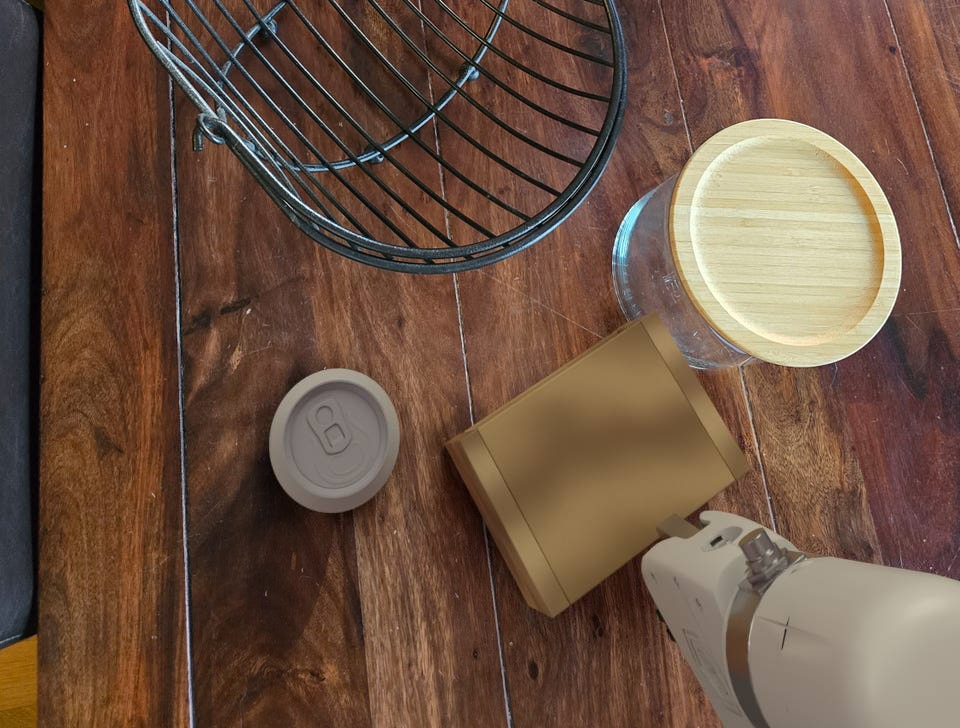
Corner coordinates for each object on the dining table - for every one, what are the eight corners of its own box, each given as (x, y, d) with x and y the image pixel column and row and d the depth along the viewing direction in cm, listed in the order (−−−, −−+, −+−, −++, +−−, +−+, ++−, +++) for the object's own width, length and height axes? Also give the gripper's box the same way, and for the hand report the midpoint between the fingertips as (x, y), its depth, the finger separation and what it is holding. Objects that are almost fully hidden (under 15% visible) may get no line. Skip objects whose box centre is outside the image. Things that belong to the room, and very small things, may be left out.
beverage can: (306, 533, 67) (308, 544, 57) (251, 423, 70) (244, 414, 59) (406, 463, 70) (427, 461, 59) (351, 359, 72) (361, 339, 62)
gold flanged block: (713, 469, 72) (752, 468, 66) (528, 606, 67) (552, 619, 61) (626, 323, 76) (655, 309, 69) (444, 443, 71) (458, 440, 65)
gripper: (648, 535, 49) (559, 517, 66) (861, 913, 45) (708, 793, 61) (780, 436, 52) (662, 442, 68) (994, 783, 47) (813, 701, 63)
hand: (684, 607), depth 64 cm, fingers closed
